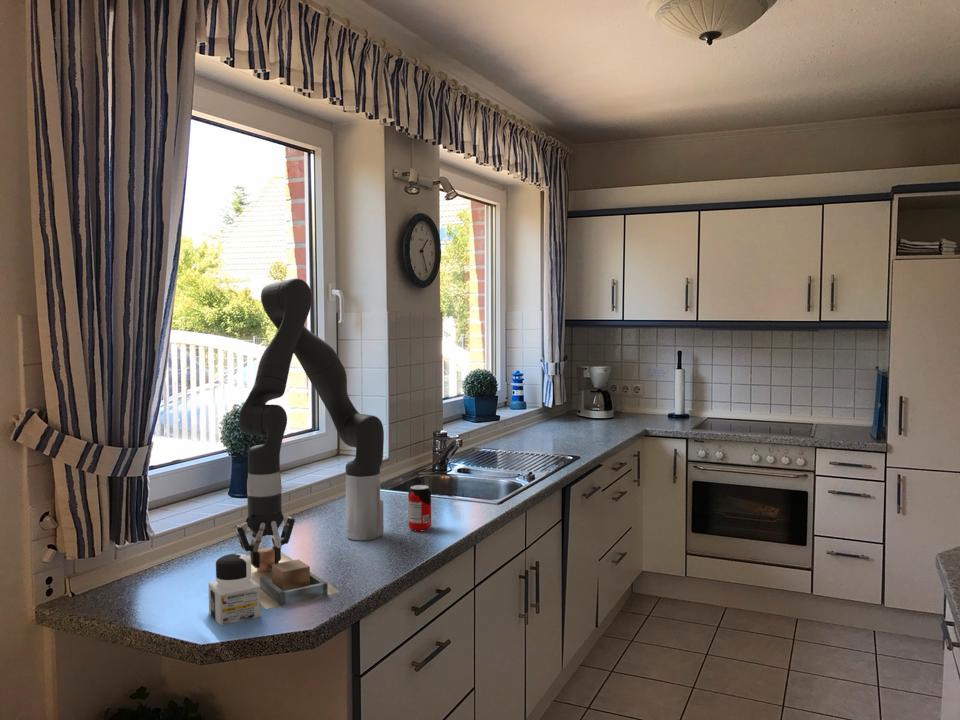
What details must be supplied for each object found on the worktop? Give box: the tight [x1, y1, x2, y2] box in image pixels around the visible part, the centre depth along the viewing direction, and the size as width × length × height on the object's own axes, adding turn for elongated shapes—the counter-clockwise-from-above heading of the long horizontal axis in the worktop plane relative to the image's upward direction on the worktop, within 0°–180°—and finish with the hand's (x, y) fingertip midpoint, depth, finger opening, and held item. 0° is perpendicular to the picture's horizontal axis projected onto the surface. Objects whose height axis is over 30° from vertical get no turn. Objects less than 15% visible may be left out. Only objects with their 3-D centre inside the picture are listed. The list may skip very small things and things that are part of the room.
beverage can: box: [407, 484, 432, 532], centre depth 214 cm, size 6×6×12 cm
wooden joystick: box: [257, 547, 311, 591], centre depth 169 cm, size 6×20×5 cm, turn 36°
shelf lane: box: [213, 551, 341, 610], centre depth 171 cm, size 16×36×4 cm, turn 35°
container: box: [208, 553, 261, 626], centre depth 149 cm, size 8×8×13 cm
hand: (265, 564), depth 175 cm, fingers closed on wooden joystick, 4 cm apart
